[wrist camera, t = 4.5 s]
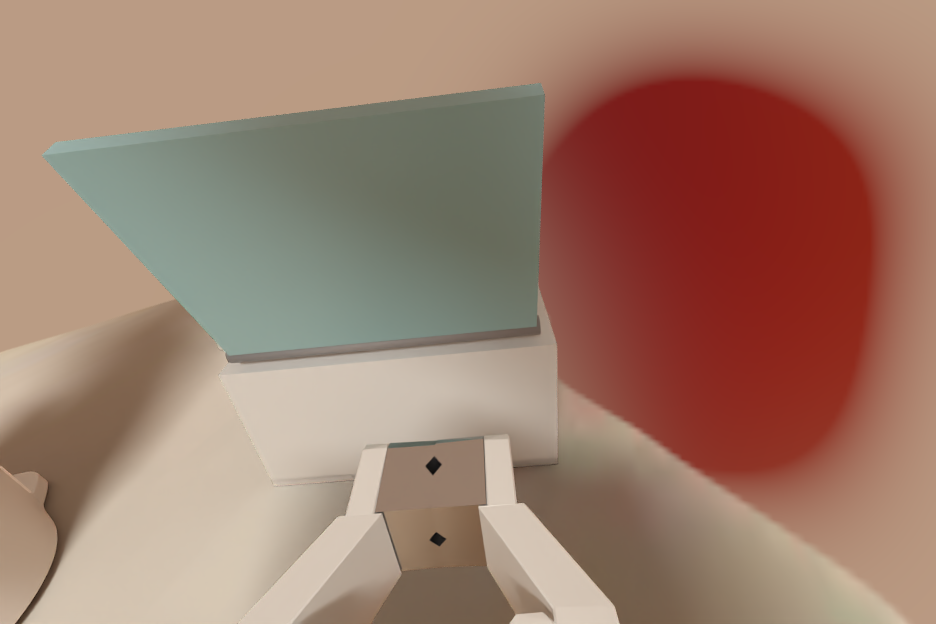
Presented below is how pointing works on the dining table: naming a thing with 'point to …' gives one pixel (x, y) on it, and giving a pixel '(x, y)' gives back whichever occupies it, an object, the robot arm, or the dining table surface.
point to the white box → (397, 402)
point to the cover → (334, 221)
